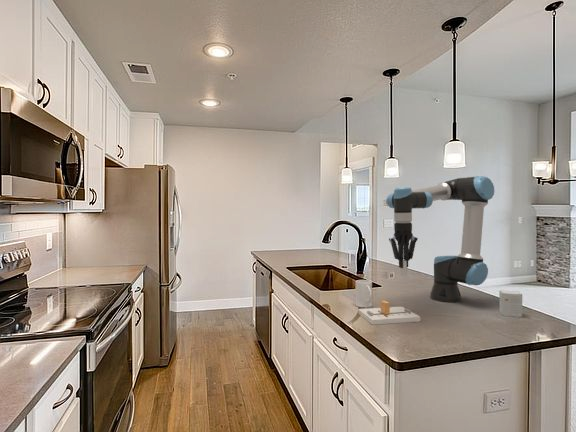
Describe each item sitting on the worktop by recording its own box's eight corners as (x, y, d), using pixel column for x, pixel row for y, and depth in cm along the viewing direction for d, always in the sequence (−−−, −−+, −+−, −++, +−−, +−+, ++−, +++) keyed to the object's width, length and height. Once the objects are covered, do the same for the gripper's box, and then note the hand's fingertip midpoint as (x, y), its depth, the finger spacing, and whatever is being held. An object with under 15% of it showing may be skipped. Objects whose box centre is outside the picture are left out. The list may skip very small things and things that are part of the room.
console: (401, 310, 167) (401, 304, 167) (420, 321, 152) (420, 314, 152) (357, 313, 163) (358, 306, 163) (372, 324, 148) (372, 317, 148)
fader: (385, 311, 158) (385, 300, 158) (389, 314, 154) (389, 302, 154) (380, 311, 158) (380, 300, 158) (384, 314, 154) (384, 303, 154)
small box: (518, 314, 162) (519, 291, 162) (522, 317, 156) (522, 294, 156) (499, 312, 164) (499, 290, 164) (501, 315, 159) (502, 292, 159)
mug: (377, 308, 171) (377, 284, 170) (361, 309, 169) (361, 285, 169) (368, 302, 182) (368, 279, 182) (352, 303, 181) (352, 280, 180)
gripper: (412, 221, 162) (412, 272, 162) (385, 222, 159) (386, 274, 160) (421, 222, 154) (421, 275, 155) (393, 223, 152) (394, 277, 153)
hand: (403, 274), depth 157 cm, fingers closed
